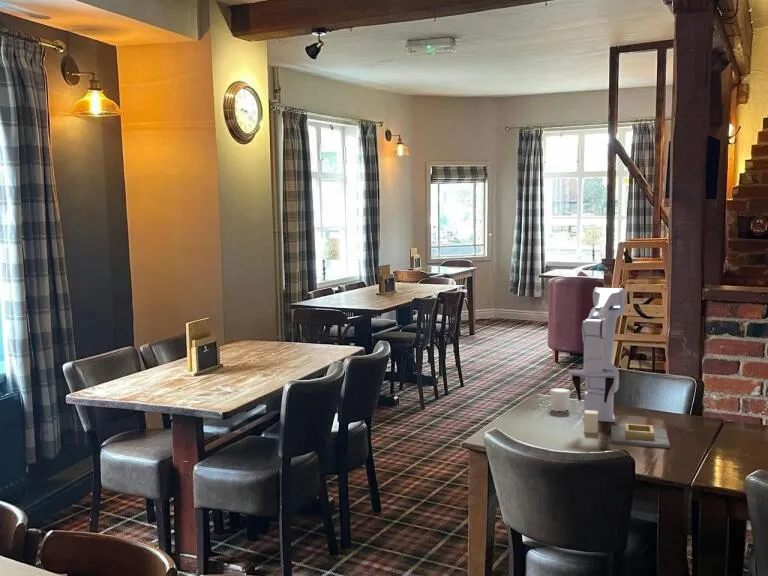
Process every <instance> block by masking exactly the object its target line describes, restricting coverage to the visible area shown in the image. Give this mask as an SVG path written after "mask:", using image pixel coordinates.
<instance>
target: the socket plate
mask: <svg viewBox="0 0 768 576" xmlns="http://www.w3.org/2000/svg"><path fill="white" fill-rule="evenodd" d="M610 428H611V430H610V443H611V445H624V446H625V445H626V446H637V447H646V448H647V447H648V448H649V447H650V448H661V449H670V445H671V444H670V441H669V438H668V433H667V430H666V429H665V428H654V425H652V424H651V425H649V424H639V423H638V424H636V423H635V424H634V423H624V426H623V425H611V426H610Z"/></svg>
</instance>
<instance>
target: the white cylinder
mask: <svg viewBox="0 0 768 576" xmlns="http://www.w3.org/2000/svg"><path fill="white" fill-rule="evenodd" d="M549 391H550V392H549V393H550V407H551V410H552V409H554V410H559V411H565V412H567V411H566V410H568V411H569V406H570V397H571V390H570V389H569V388H563V387H552V388H550V389H549Z"/></svg>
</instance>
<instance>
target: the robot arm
mask: <svg viewBox="0 0 768 576" xmlns="http://www.w3.org/2000/svg"><path fill="white" fill-rule="evenodd" d="M592 302H593V306H594V307H592V308H591V309H590V312H589V314H588V317H587V318H586V319H584V320H582V324H581V334H582V343H583V369H573V370H572V369H569V370H568V378H572V379H571V381H572V383H573V385H574V388H575V390H576V393H577V400H578V402H581V401H582V394H581V391H582V390H581V383H582V382H581V380H582V379H581V378H585V387H586V389H587V390H589V391H584V405H583V406H584V407H583V410H582V412H583V414H584V413H585V410H593V411H598V422H608V423H610V422H611V423H615V414H614V403H615V402H614V398H615V395H614V393H616V392H617V391H618V390H619V387H620V386H619V385H620V372H619V369H618V367H616V366H615V365H614V364H613V363H612V361H613V352H614V345H615V344H614V343H615V335H616V334H615V333H616V325H617V322H618V317H621V316H623V315H624V312H625V306H626V305H625V304H626V290H625V288H623V287H620V288H618V287H617V288H616V287H615V288H614V287H598V286H596V287H594V289H593V291H592Z"/></svg>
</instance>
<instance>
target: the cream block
mask: <svg viewBox="0 0 768 576" xmlns="http://www.w3.org/2000/svg"><path fill="white" fill-rule="evenodd" d="M583 420H584V421H583V422H584V423H583V424H584V425H583V432H584V433H588V434H589V433H591V434H598V433H599V421H598V411H593V410H585V413H583Z"/></svg>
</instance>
